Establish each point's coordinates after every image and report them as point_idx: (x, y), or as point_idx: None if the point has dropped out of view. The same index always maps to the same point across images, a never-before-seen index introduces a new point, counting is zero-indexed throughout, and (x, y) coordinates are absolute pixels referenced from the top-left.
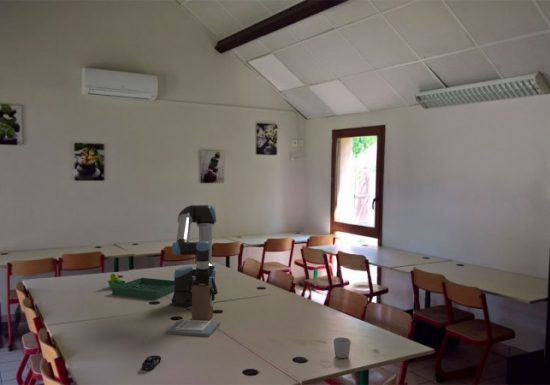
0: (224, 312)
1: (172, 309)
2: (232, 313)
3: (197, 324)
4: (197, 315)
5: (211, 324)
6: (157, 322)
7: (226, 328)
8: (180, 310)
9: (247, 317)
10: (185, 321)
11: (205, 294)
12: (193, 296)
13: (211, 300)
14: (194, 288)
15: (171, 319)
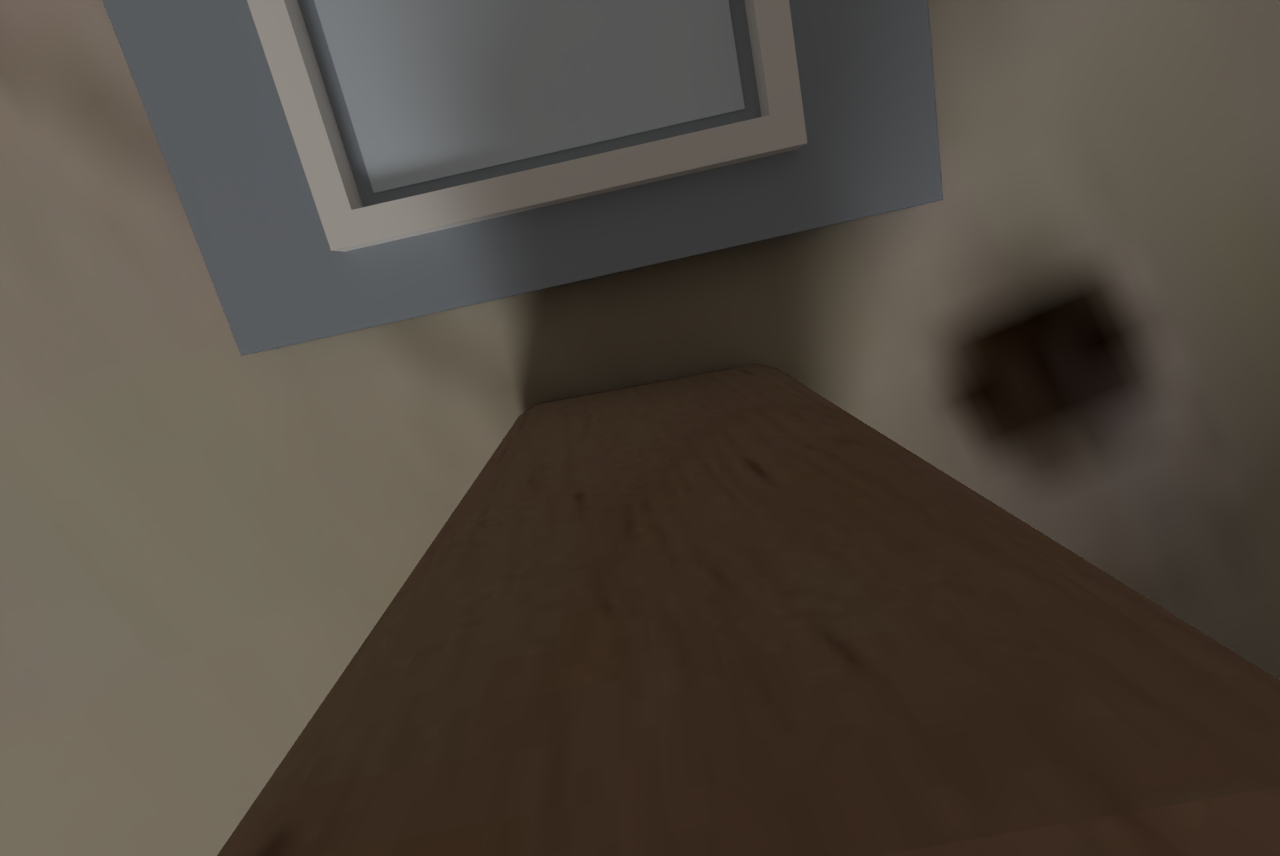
0: None
1: None
2: None
3: (498, 59)
4: (690, 390)
5: (284, 178)
6: (1260, 35)
7: (58, 227)
8: None
9: (134, 772)
10: (760, 64)
11: (419, 662)
12: (942, 503)
13: None
14: (1209, 771)
15: (1094, 275)
